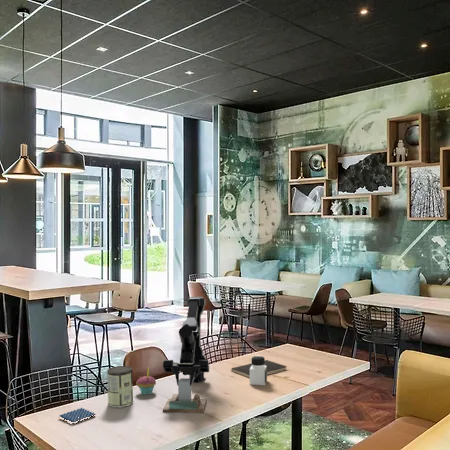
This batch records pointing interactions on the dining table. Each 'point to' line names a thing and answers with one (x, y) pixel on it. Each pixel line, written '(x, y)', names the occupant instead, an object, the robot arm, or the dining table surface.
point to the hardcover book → (271, 366)
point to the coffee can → (120, 386)
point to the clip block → (184, 389)
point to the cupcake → (146, 383)
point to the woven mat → (77, 415)
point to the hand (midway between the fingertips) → (184, 385)
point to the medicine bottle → (258, 371)
